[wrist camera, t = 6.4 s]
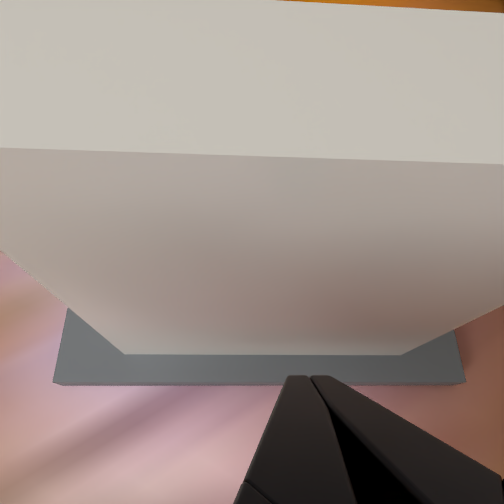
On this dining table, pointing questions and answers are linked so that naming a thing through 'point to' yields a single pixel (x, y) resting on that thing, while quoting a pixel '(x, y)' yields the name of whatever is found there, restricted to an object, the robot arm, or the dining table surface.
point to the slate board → (245, 364)
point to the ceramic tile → (255, 171)
